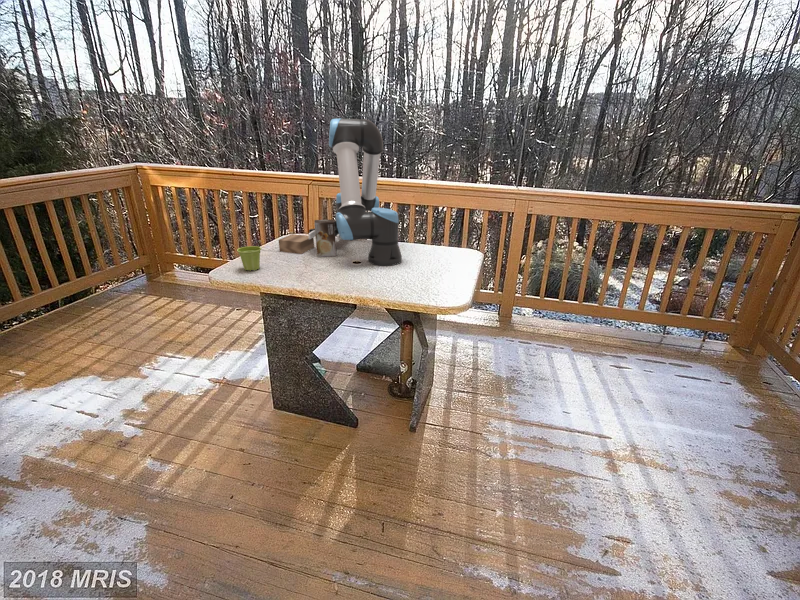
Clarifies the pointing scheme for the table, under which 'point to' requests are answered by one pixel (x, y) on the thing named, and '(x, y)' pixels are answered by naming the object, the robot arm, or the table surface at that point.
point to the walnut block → (296, 244)
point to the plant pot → (250, 257)
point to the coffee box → (325, 238)
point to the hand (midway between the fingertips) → (323, 237)
